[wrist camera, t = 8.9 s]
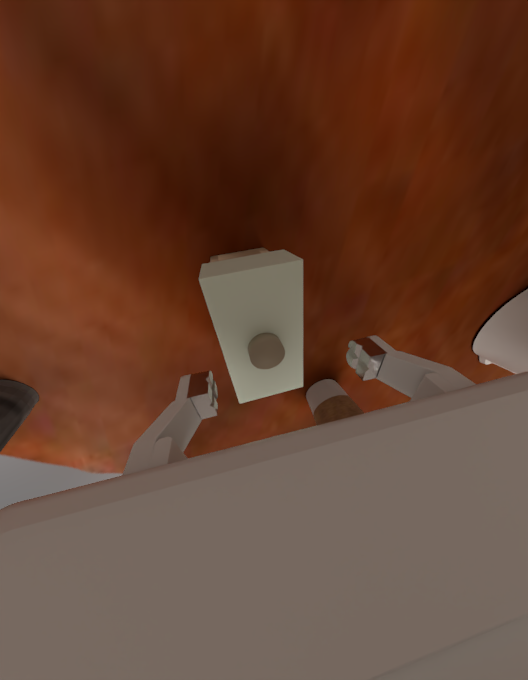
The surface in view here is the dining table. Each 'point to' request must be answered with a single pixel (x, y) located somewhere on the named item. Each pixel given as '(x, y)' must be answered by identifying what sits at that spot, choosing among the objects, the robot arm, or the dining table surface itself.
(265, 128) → the dining table surface
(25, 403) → the beverage cup
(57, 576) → the robot arm
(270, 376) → the lid
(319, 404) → the coffee cup
